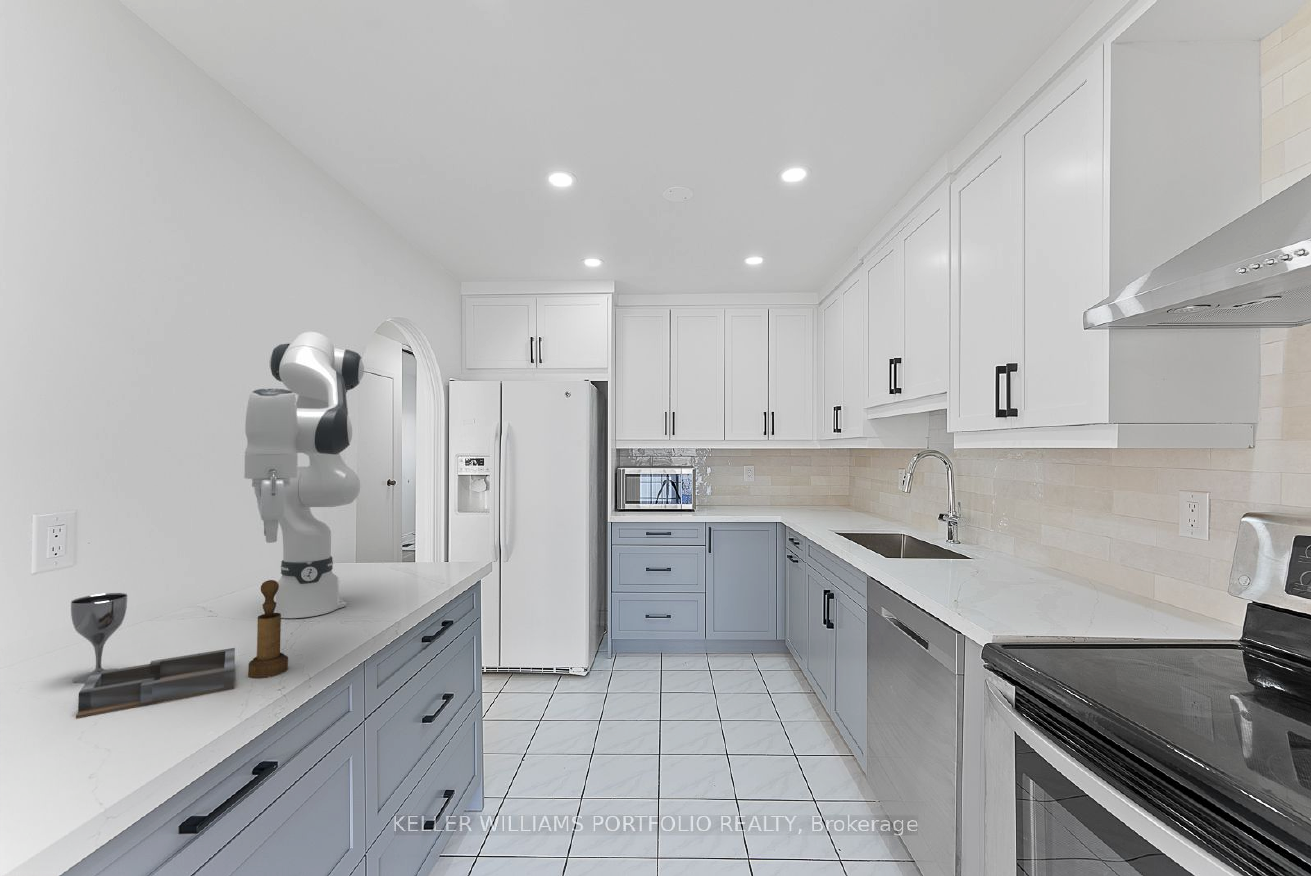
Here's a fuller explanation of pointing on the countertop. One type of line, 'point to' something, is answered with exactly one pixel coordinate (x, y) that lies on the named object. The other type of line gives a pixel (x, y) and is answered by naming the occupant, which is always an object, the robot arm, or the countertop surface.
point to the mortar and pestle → (268, 638)
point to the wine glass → (98, 622)
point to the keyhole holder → (157, 682)
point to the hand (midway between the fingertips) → (270, 539)
